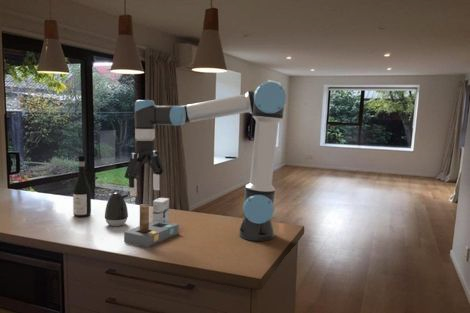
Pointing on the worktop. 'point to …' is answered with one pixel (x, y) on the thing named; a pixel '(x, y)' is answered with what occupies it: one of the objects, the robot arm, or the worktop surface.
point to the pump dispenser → (116, 210)
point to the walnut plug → (144, 218)
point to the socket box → (151, 233)
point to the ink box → (161, 209)
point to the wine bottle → (81, 192)
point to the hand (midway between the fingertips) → (145, 192)
